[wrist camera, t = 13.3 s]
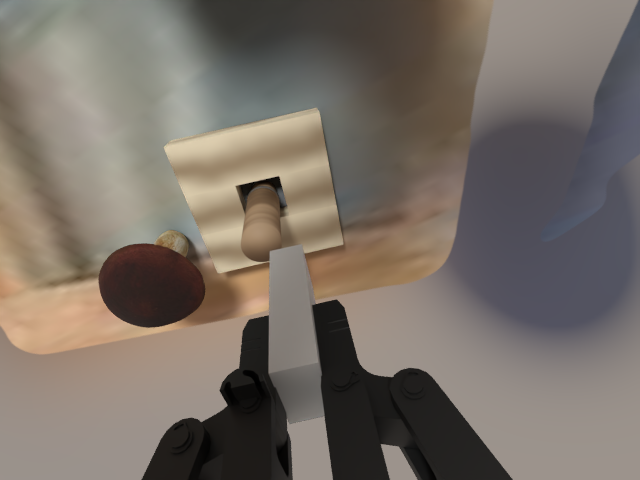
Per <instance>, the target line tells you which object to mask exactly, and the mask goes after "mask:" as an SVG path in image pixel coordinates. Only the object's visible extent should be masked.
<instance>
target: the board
mask: <svg viewBox="0 0 640 480" xmlns="http://www.w3.org/2000/svg"><path fill="white" fill-rule="evenodd" d="M164 149H165V152H166V154H167V156H168V159H169V161H170V163H171V166H172V168H173V170H174V173H175V175H176V177H177V180H178V182H179V184H180V187H181V189H182V191H183V193H184V196H185V198H186V200H187V203H188V205H189V207H190V210H191V212H192V214H193V217H194V219H195V221H196V224H197V226H198V228H199V231H200V233H201V235H202V238H203V240H204V242H205V245H206V247H207V249H208V252H209V254H210V256H211V259H212V261H213V263H214V266H215V268H216V270H217V273H223V272H227V271H231V270H236V269H240V268H244V267H249V266H253V265H257V264H262V263H266V262H256V261H253V260H250V259H249V258H247V257H246V256H245V255H244V253H243V252H242V249H241V238H242V232H243V225H244V218H245V211H246V202H245V199H244V196H243V193H242V190H241V187H240V185H242V184H246V183H251V182H255V181H259V180H264V179H268V178H273V177H277V176H279V177H280V181H281V184H282V188H283V192H284V196H285V200H286V203H287V206H286V207H282V208H280V221H281V239H282V248H286V247H291V246H295V245H300V244H302V246H303V250H304V254H305V253H309V252H313V251H318V250H322V249H326V248H331V247H335V246H339V245H344V243H343V238H342V232H341V227H340V222H339V216H338V211H337V205H336V200H335V194H334V189H333V184H332V178H331V173H330V167H329V162H328V156H327V151H326V145H325V140H324V135H323V129H322V124H321V118H320V113H319V111H318V109H317V108H313V109H309V110H304V111H300V112H295V113H291V114H286V115H282V116H278V117H273V118H269V119H264V120H260V121H256V122H251V123H247V124H242V125H238V126H234V127H229V128H225V129H220V130H216V131H211V132H207V133H203V134H198V135H194V136H189V137H185V138H181V139H176V140H172V141H170V142H169V143H168V144H167V145H166V146H165V147H164ZM282 248H281V249H282ZM267 262H270V261H267Z"/></svg>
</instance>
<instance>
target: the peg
mask: <svg viewBox="0 0 640 480" xmlns="http://www.w3.org/2000/svg"><path fill="white" fill-rule="evenodd" d="M281 248H282V239H281V221H280V199H279V195H278V193H277V191H276V187H275V186H274V184H273V183H271V182H270V181H267V180H260V181H257V182H256V183H254V185H253V186H252V188H251V191H250V192H249V194H248V196H247V205H246V211H245V218H244V225H243V232H242V238H241V249H242V252H243V253H244V255H245V256H246V257H247V258H249V259H250V260H253V261H256V262H267V261H270V251H272V250H277V249H281Z"/></svg>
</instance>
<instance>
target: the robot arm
mask: <svg viewBox="0 0 640 480" xmlns="http://www.w3.org/2000/svg"><path fill="white" fill-rule="evenodd" d="M220 392H221V394H222V396H223V398H224V399H225V401H226V403H227V405H228V406H227V407H226V408H225V409H224V410H222V411H220V412H219V413H217V414H216V415H214V416H212V417H210V418H208V419H207V420H205V421H203V422H200V421H199V420H198V419H194V418H188V419H182V420H180V421H179V422H177V423H175V424H174V425H173V426H172V427H170V428H169V429H168V430H167V431H166V433H165V434H164V436H163V437H162V439H161V441H160V443H159V445H158V447H157V449H156V451H155V453H154V455H153V457H152V459H151V461H150V463H149V466H148V468H147V470H146V472H145V474H144V476H143V478H142V480H293V478H292V457H291V441H290V437H289V434H288V431H287V419H288V421H289V423H290V424H292V423H296V422H300V421H305V420H309V419H314V418H318V417H323V416H325V423H326V430H327V438H328V445H329V452H330V460H331V468H332V474H333V480H390V479H389V475H388V471H387V467H386V463H385V459H384V455H383V452H382V448H381V444H386V445H393V446H399V447H400V449H401V451H402V452H403V454H404V456H405V458H406V459H407V461H408V463H409V465H410V466H411V468H412V470H413V472H414V474H415V475H416V477H417V479H418V480H512V478H511V477H510V476H509V474H508V473H507V472H506V471H505V469H504V468H503V467H502V466H501V464H500V463H499V462H498V460H497V459H496V458H495V457H494V455H493V454H492V453H491V452H490V450H489V449H488V448H487V446H486V445H485V444H484V443H483V441H482V440H481V439H480V437H479V436H478V435H477V434H476V433H475V431H474V430H473V429H472V427H471V426H470V425H469V423H468V422H467V421H466V420H465V418H464V417H463V416H462V415H461V413H460V412H459V411H458V409H457V408H456V407H455V406H454V404H453V403H452V402H451V401H450V399H449V398H448V397H447V395H446V394H445V393H444V392H443V390H442V389H441V388H440V387H439V385H438V384H437V383H436V381H435V380H434V379H433V378H432V377H431V376H430V375H429V374H428V373H427V372H424V371H422V370H420V369H414V368H408V369H403V370H401V371H399V372H398V373H396V374H395V375H394V377H384V376H377V375H373V374H371V373H369V372H367V371H366V370H365V369H363V368H362V366H361V365H360V363H359V361H358V359H357V354H356V351H355V347H354V343H353V339H352V336H351V332H350V328H349V324H348V320H347V316H346V312H345V308H344V307H343V306H342V305H341V304H340V302H339V301H338V300H332V301H328V302H323V303H319V304H316V303H315V297H314V291H313V286H312V282H311V278H310V274H309V270H308V266H307V262H306V258H305V254H304V250H303V246H302V244H300V245H295V246H291V247H286V248H282V249H277V250H272V251H270V273H269V315H268V316H264V317H259V318H255V319H250V320H249V321H248V322H247V324H246V326H245V328H244V330H243V336H242V345H241V355H240V366H239V369H236V370H235V371H233V372H232V373H231V374H229V375H228V376H227V377H226V379H225V380H224V381H223V382H222V385H221V388H220Z"/></svg>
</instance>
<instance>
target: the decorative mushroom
mask: <svg viewBox="0 0 640 480" xmlns="http://www.w3.org/2000/svg"><path fill="white" fill-rule="evenodd" d="M188 248H189V244H188V241H187V239H186V237H185V236H184V235H183V234H181V233H180V232H177V231H174V230H169V231H166V232H164V233H163V234H161V235H160V236H159V237H158V238H157V240H156V241H155V243H154V244H133V245H128V246H125V247H123V248H120V249H118V250H117V251H115V252H113V253H112V254H111V255H110V256H109V257H108V258H107V260H106V261H105V262H104V264H103V266H102V268H101V270H100V274H99V287H100V293H101V296H102V299H103V301H104V303H105V304H106V306H107V307H108V309H109V310H110V311H111V312H112V313H113V314H114V315H115V316H117V317H118V318H120V319H121V320H123V321H125V322H127V323H130V324H132V325H136V326H140V327H148V328H150V327H160V326H164V325H168V324H171V323H175V322H177V321H180V320H182V319H184V318H186V317H187V316H188V315H190V314H191V313H193V312H194V311H195V310H196V309H197V308H198V307H199V306H200V304H201V303H202V301H203V299H204V295H205V284H204V280H203V277H202V275H201V273H200V272H199V270H198V269H197V268H196V267H195V266H194V265H193V264H192V263H191V262H190V261H189V260H188V259H187V258H186V256H187V253H188Z"/></svg>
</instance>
